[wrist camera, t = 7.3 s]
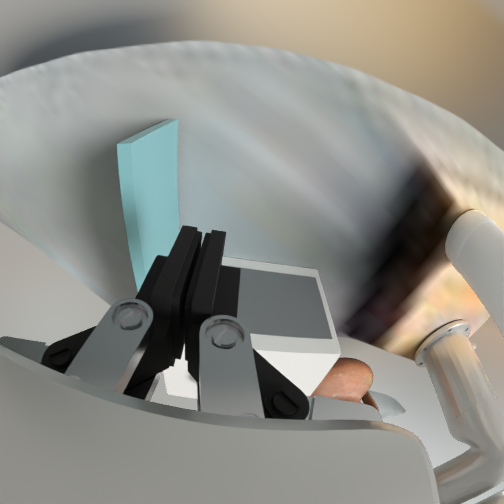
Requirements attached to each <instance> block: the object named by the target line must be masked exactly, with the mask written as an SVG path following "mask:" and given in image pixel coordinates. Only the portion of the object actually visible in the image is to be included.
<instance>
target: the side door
mask: <svg viewBox="0 0 504 504" xmlns="http://www.w3.org/2000/svg"><path fill="white" fill-rule="evenodd" d="M117 156H118V169H119V180H120V190H121V199H122V207H123V214H124V221H125V228H126V234H127V240H128V246H129V252H130V257H131V262H132V267H133V272H134V277H135V282H136V286H137V290H138V292H139V290H140V288H141V286H142V284H143V282H144V279H145V277H146V275H147V273H148V271H149V269H150V268H151V266H152V264H153V262H154V260H155V258H156V256H157V255H162V256H168V255H169V253H170V251H171V249H172V247H173V245H174V243H175V241H176V238H177V236H178V234H179V232H180V229H179V204H178V119H168V120H166V121H163V122H161V123H159V124H157V125H154V126H152V127H150V128H148V129H146V130H144V131H142V132H140V133H138V134H136V135H134V136H132V137H130V138H128V139H126V140H124V141H122V142H120V143H118V144H117Z"/></svg>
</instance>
